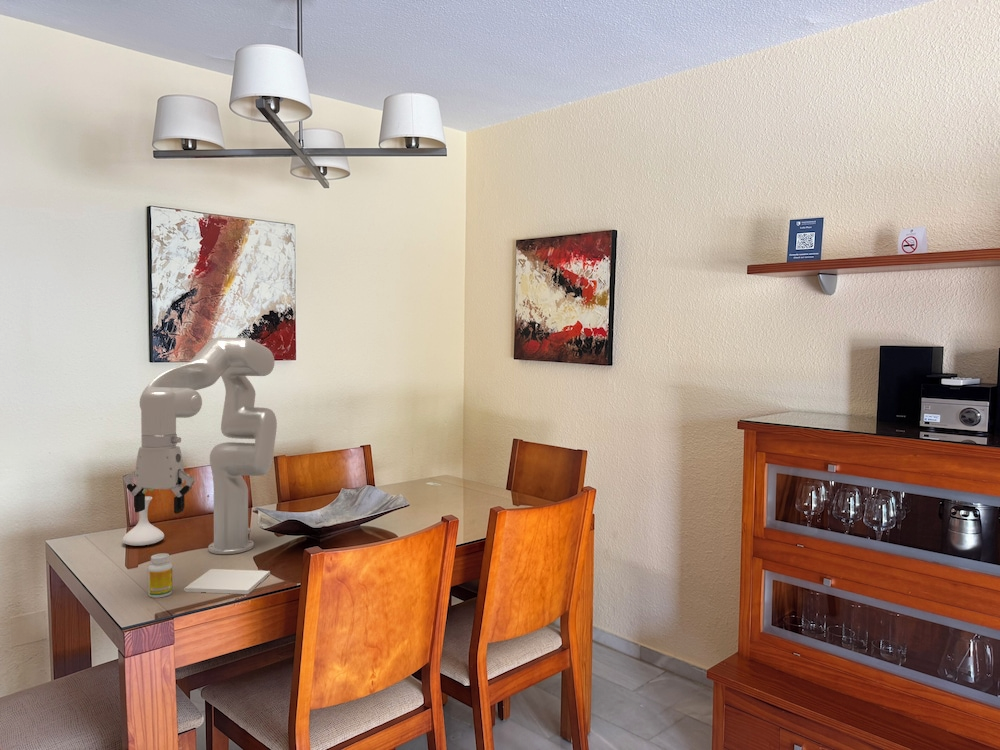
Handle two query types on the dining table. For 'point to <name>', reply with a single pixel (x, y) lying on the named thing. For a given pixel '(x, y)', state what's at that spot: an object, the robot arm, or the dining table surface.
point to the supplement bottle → (159, 576)
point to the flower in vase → (143, 529)
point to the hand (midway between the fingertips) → (159, 511)
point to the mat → (227, 581)
